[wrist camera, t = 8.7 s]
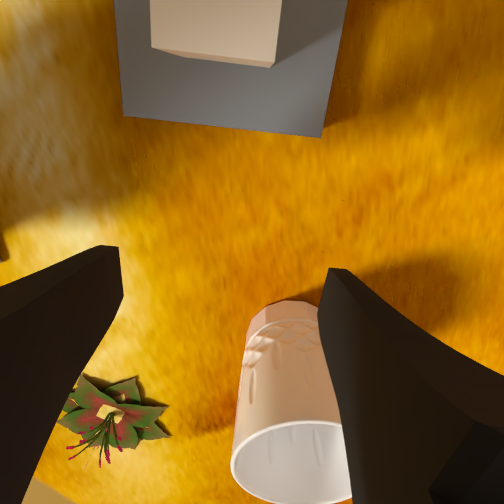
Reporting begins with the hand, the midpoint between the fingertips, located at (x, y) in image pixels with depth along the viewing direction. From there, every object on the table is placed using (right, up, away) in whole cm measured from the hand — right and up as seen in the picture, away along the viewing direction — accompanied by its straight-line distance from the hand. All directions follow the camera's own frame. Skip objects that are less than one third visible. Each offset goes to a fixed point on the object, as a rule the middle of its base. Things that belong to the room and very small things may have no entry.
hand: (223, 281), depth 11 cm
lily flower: (-12, -14, +20) cm, 27 cm away
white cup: (+4, -5, +14) cm, 16 cm away
